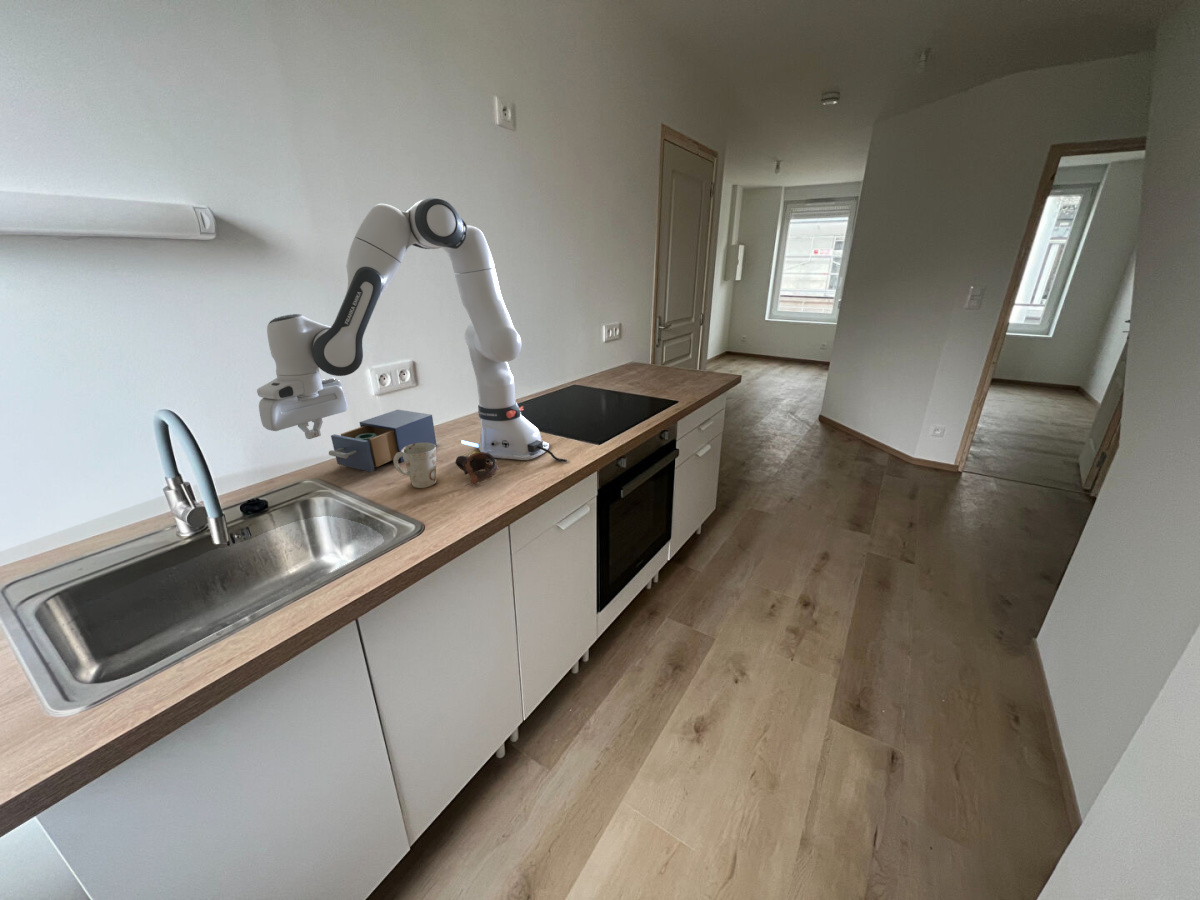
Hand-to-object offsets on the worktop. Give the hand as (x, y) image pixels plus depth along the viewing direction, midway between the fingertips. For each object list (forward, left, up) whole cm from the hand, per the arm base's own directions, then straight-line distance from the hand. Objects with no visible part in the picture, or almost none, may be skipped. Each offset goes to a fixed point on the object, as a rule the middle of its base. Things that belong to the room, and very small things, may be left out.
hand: (313, 437), depth 115 cm
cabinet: (0, -26, -13) cm, 29 cm away
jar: (0, -15, -11) cm, 18 cm away
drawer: (0, -14, -12) cm, 18 cm away
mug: (-22, -10, -13) cm, 28 cm away
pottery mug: (-35, -19, -13) cm, 42 cm away
